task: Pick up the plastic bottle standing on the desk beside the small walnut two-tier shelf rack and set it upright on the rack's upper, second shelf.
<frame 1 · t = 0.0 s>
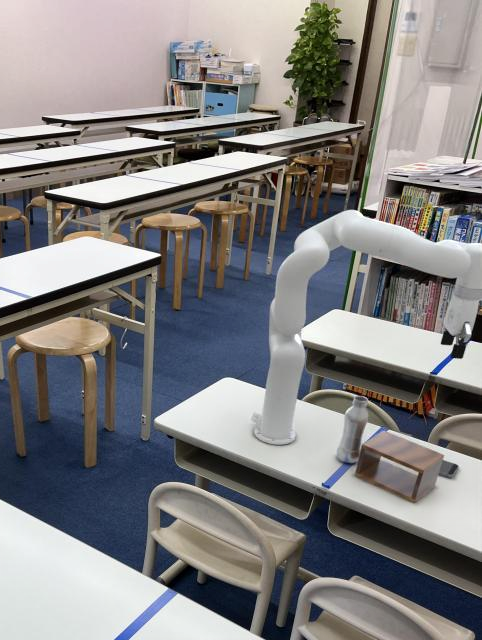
hand: (451, 351, 195), 31 cm above the table, tool pointing down, fingers open, 9 cm apart
shelf rack: (394, 481, 194), on the table
plastic bottle: (346, 460, 203), on the table
phone: (426, 464, 203), on the table
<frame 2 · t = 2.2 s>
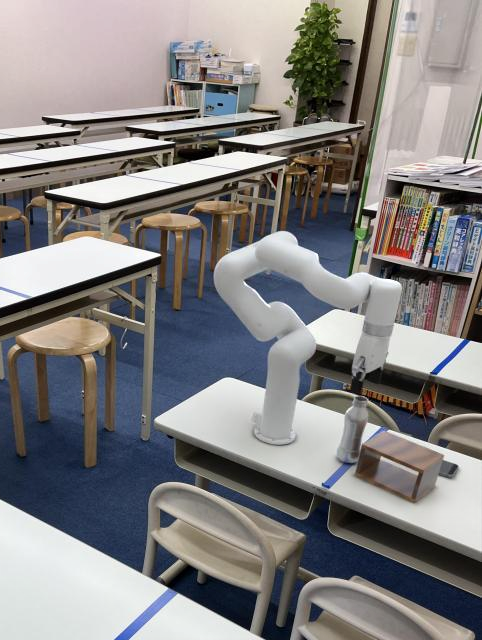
hand: (364, 387, 191), 24 cm above the table, tool pointing down, fingers open, 9 cm apart
nothing on the table moved.
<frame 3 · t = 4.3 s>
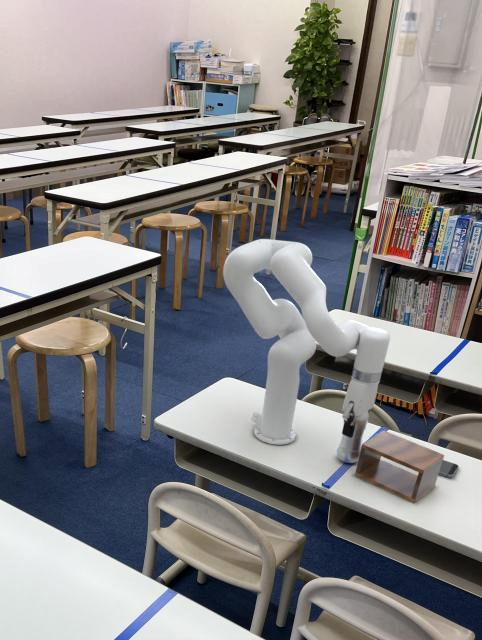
hand: (353, 431, 198), 10 cm above the table, tool pointing down, fingers closed on plastic bottle, 6 cm apart
plastic bottle: (346, 460, 203), on the table, touching gripper
everything else where it was.
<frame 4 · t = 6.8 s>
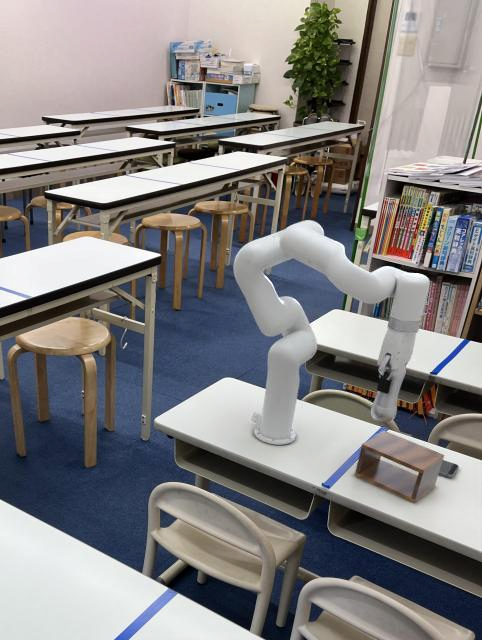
hand: (389, 387, 185), 26 cm above the table, tool pointing down, fingers closed on plastic bottle, 6 cm apart
plastic bottle: (381, 420, 190), point 16 cm above the table, touching gripper
everything else where it was.
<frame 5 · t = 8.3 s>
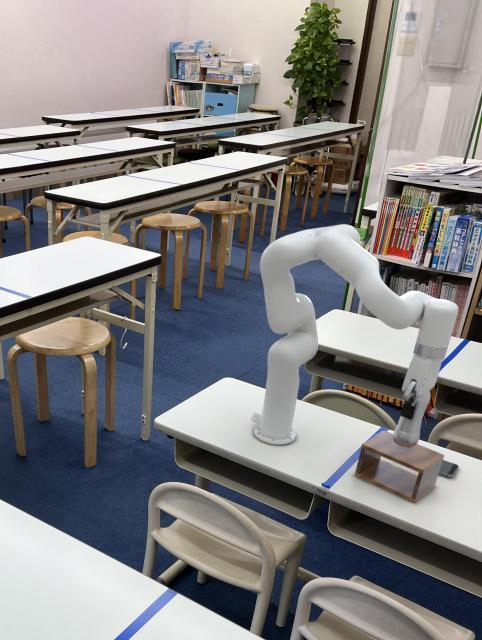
hand: (412, 413, 183), 21 cm above the table, tool pointing down, fingers closed on plastic bottle, 6 cm apart
plastic bottle: (403, 445, 188), point 12 cm above the table, touching gripper
everything else where it was.
when the fingers open (20 cm above the table, at t = 9.3 s): plastic bottle stays where it is, resting on shelf rack.
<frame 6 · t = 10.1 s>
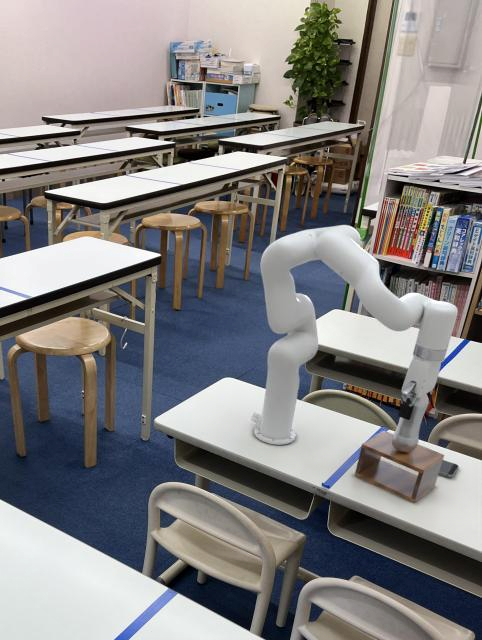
hand: (412, 412, 183), 22 cm above the table, tool pointing down, fingers open, 9 cm apart
plastic bottle: (402, 449, 189), point 10 cm above the table, touching shelf rack
everything else where it was.
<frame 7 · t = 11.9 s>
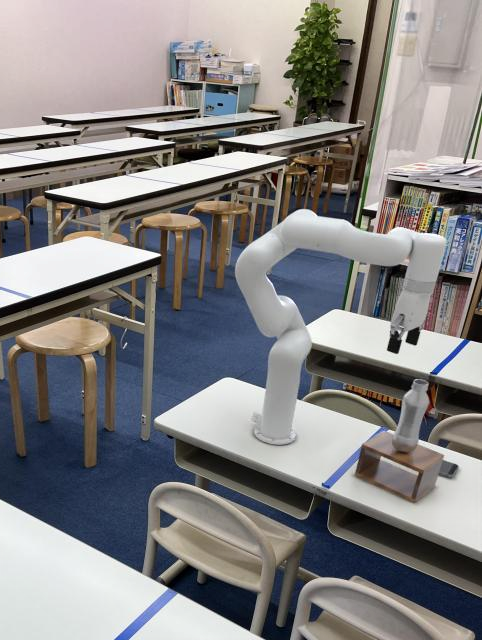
hand: (401, 348, 185), 35 cm above the table, tool pointing down, fingers open, 9 cm apart
nothing on the table moved.
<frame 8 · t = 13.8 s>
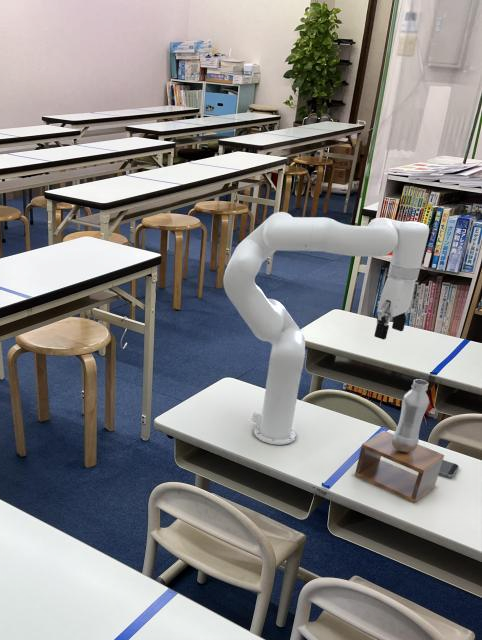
hand: (388, 333, 191), 36 cm above the table, tool pointing down, fingers open, 9 cm apart
nothing on the table moved.
at the end: plastic bottle inside the target area on the shelf rack (0.1 cm from its centre), point 10.2 cm above the shelf rack's base; plastic bottle tilted 0° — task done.
